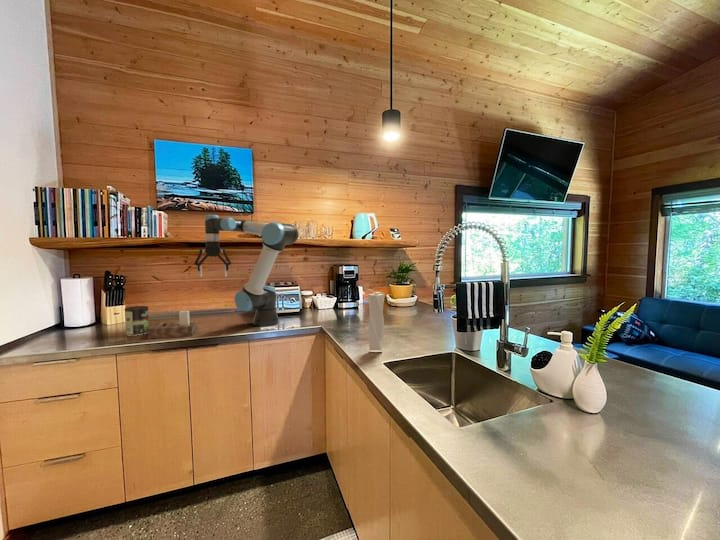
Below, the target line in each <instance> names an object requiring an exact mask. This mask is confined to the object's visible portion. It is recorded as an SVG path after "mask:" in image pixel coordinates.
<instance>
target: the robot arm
mask: <svg viewBox="0 0 720 540" xmlns="http://www.w3.org/2000/svg"><path fill="white" fill-rule="evenodd" d="M204 226H205V227H204V231H205V249H203V248H200V249H199V254H198V255H197V257H196V259H195V260H194V263H193V265H195V266H197V272H199V277H200V278H202V277H203V265H202V264H203V263H204V262H205V261H206V260H207V258H209V257H210V258H213V257H217V258H219V259H220V261H222V262H223V264H224V277H227V276H228V274H227V273H228V271H229V266H230V265H232V262H231V259H230V257H229V256H228V255H227V253H226V249H225V248H222V249H221V247H220V244H221V243H220V232H236V233H237V232H239V233H246V234H251V235H255V236H261V240H262V249H261V251H260V254H259V256H258V258H257V261H256V263H255V266H254V267H253V269H252V273H251V276H250V277H249V280H248V282H247V283H244V285H243V286H242V289H241V290H239V291H237V292H236V293H235V295H234V303H235V306H236V308H237V309H239V311H242V312H251V311H254V310H255V314H254V317H253V321H252V325H253V326H256V325H257V326H258V327H268V326H267V325H271V326H274V324H275V325H277V323H278V324H279V323H280V319H279V316H278V313H277V307H276V306H277V304H276V303H277V301H276V300H277V296H276V295H277V292H276V291H277V290H276V287H275V286H272V285H271V286H270V285H266V283H267V280H268V278H269V275H270V273H271V271H272V269H273V266H274V264H275V262H276V260H277V257H278V255H279V253H281V252H283V251H284V248H285V246H288V245H289V246H290V245H293V244H295V243H296V242H297V241H298V239H299V230H298V229H297V227H296V226H295V225H293V224H291V223H285V222H284V223H283V222H278V221H277V222H275V221H274V222H269V223H264V222H257V221H252V220H246V219H236V218H233V217H220V216H219V215H217V214H206V215H205V216H204ZM204 253H206V254H205V255H204V257H202V255H203V254H204ZM220 253H222V254H223V256H224V257H225V258H223V256H222V255H221V254H220ZM201 257H202V259H201ZM225 259H226V260H225Z"/></svg>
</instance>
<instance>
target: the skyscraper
mask: <svg viewBox="0 0 720 540" xmlns="http://www.w3.org/2000/svg"><path fill="white" fill-rule="evenodd" d="M366 291H367V295H368V297H367V299H368V305H369V306H368V308H369V315H368V343H369V344H368V345H369V351H370V350H381V349H382V350H383V345H384V339H385V338H384V337H385V318H384V313H383V311H384V304H385V298H386V293H385V292H382V291H375V290H374V289H372V288H367V289H366ZM369 291H372V292H373V293H369Z"/></svg>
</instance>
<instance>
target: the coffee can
mask: <svg viewBox="0 0 720 540" xmlns="http://www.w3.org/2000/svg"><path fill="white" fill-rule="evenodd" d="M124 318H125V319H124V320H125V336H126V335H127V336H126V337H137V335H139V336H143V334H144V335H148V329H149V328H150V327H149V324H150V323H149V306H146V305H138V306H137V305H135V306H130V307H125V308H124Z"/></svg>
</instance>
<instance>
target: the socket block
mask: <svg viewBox="0 0 720 540" xmlns="http://www.w3.org/2000/svg"><path fill="white" fill-rule="evenodd" d="M198 323H199V322H198V320H190V325H182V326H180V324H179V321H171V322H168V321H167V322H166V321H165V322H157V323H155V324H153V325H152V326H151V327H149V329H148V333H147V338H148V340H151V339H150V338H156V339H165V338H164V337H171V338H183V337H184V336H185V337H193V336H194V335H195V333H196V332H197V331H198V329H199V328H198V327H199V325H198Z"/></svg>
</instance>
